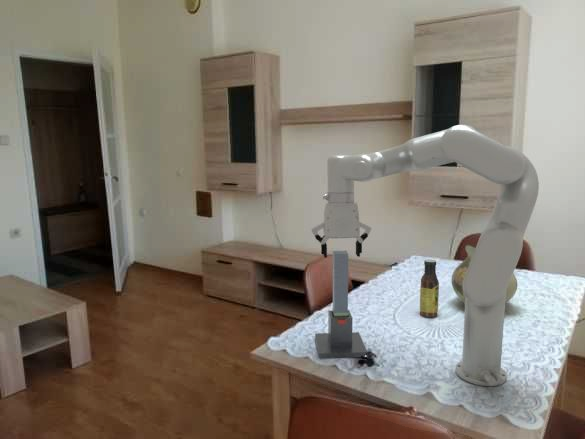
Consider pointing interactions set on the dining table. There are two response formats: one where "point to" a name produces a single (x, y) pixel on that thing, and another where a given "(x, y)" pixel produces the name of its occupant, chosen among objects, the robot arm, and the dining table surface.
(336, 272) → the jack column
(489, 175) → the robot arm
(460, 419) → the dining table surface
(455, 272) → the pitcher
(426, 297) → the sauce bottle
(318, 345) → the jack base
